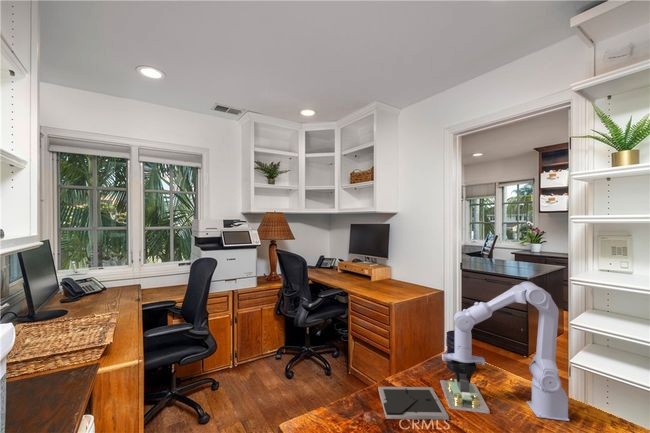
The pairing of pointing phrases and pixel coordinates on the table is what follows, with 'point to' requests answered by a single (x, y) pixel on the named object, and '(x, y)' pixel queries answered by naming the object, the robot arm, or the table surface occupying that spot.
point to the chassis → (460, 404)
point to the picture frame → (411, 403)
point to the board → (455, 390)
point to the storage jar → (451, 349)
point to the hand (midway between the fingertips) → (462, 381)
